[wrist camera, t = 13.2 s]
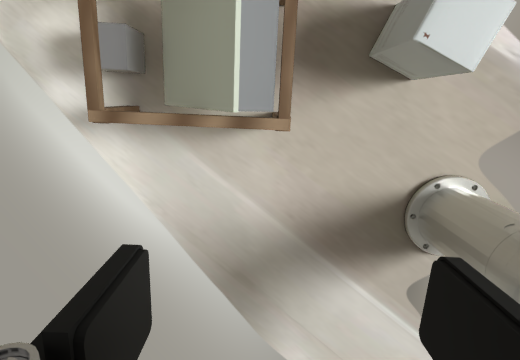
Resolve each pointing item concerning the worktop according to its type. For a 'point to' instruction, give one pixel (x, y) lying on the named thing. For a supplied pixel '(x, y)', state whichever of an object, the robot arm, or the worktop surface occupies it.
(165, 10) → the trapdoor
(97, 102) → the frame
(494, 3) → the supplement box
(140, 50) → the grey near-cubic block
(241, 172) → the worktop surface
